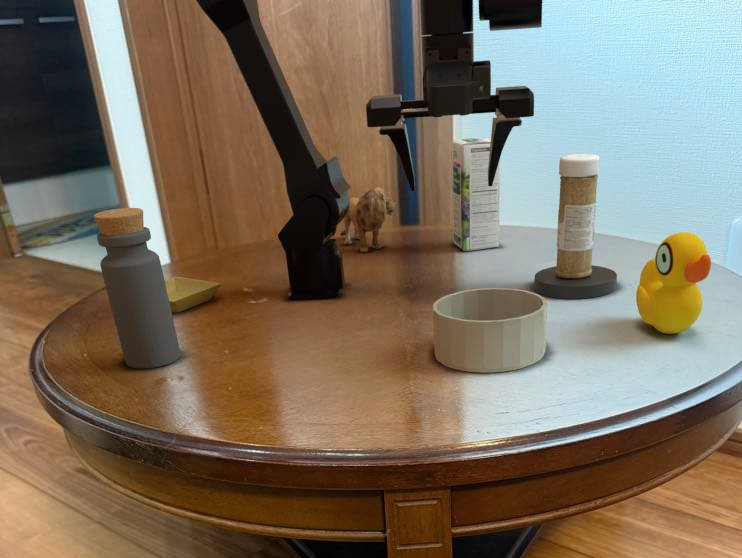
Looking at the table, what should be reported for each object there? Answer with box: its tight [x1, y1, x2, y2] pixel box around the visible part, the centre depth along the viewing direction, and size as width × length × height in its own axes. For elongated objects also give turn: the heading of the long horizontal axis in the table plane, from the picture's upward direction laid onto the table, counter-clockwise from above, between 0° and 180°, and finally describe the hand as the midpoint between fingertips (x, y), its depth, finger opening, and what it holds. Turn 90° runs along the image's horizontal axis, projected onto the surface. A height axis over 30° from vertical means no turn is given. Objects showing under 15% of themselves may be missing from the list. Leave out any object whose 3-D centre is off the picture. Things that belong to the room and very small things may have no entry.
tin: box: [432, 287, 548, 374], centre depth 81 cm, size 11×11×5 cm
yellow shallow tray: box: [164, 276, 221, 314], centre depth 104 cm, size 9×9×2 cm
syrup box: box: [452, 137, 501, 252], centre depth 118 cm, size 6×6×14 cm
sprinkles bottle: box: [555, 153, 601, 279], centre depth 95 cm, size 5×5×14 cm
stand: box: [533, 264, 618, 300], centre depth 99 cm, size 10×10×2 cm
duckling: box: [635, 231, 712, 335], centre depth 81 cm, size 11×5×10 cm, turn 11°
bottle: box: [93, 207, 181, 369], centre depth 82 cm, size 6×6×15 cm
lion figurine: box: [339, 187, 397, 253], centre depth 123 cm, size 15×5×9 cm, turn 33°
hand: (451, 188), depth 96 cm, fingers open, 9 cm apart
